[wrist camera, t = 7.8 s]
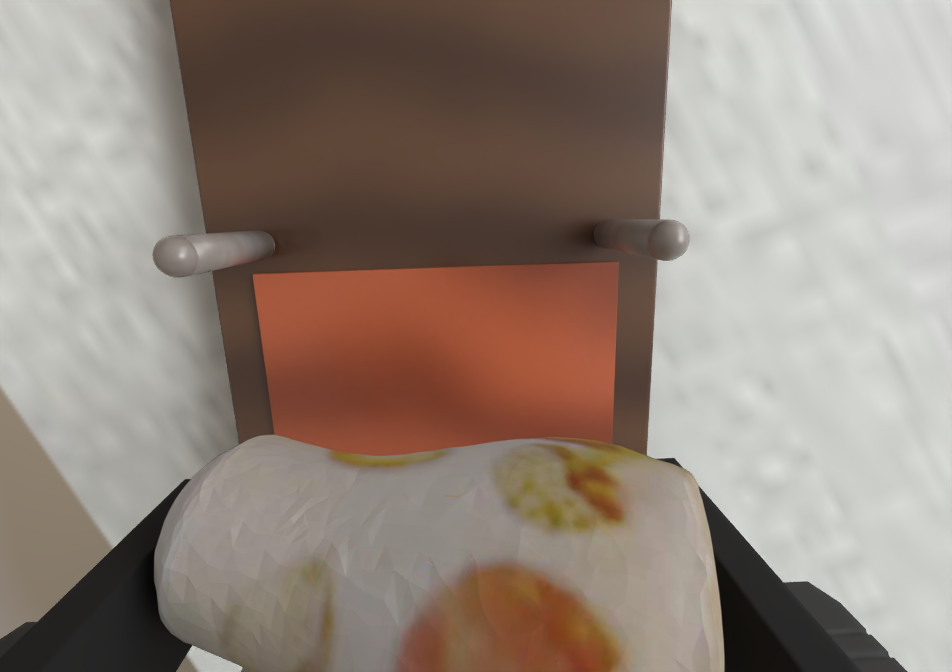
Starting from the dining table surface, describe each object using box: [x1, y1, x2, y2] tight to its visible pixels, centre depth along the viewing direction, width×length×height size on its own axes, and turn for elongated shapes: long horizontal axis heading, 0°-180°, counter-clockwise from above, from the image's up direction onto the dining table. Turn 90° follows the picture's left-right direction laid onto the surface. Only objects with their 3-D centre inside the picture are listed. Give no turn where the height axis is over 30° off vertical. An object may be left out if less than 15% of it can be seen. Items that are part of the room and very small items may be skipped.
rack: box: [153, 0, 690, 672], centre depth 15 cm, size 28×16×8 cm, turn 2°
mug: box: [154, 435, 724, 672], centre depth 9 cm, size 8×10×10 cm
